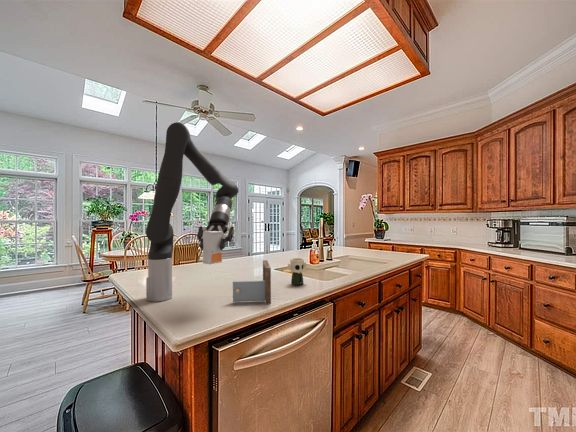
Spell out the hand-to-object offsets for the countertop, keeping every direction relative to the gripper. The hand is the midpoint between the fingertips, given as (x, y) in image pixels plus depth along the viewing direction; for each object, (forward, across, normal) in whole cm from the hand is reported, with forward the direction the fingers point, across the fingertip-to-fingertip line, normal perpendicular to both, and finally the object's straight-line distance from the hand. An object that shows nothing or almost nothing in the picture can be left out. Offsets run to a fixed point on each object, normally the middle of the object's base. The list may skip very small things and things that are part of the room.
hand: (211, 248), depth 96 cm
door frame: (+5, +19, +28) cm, 34 cm away
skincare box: (+3, 0, +5) cm, 6 cm away
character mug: (-10, +33, +42) cm, 54 cm away
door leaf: (+10, +13, +22) cm, 27 cm away
